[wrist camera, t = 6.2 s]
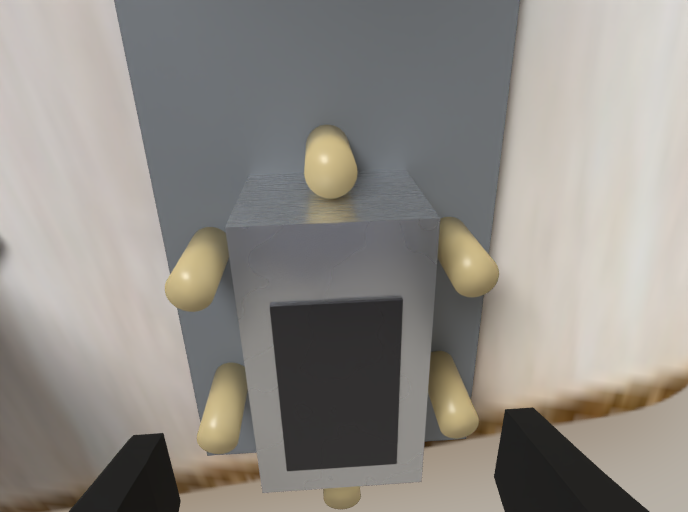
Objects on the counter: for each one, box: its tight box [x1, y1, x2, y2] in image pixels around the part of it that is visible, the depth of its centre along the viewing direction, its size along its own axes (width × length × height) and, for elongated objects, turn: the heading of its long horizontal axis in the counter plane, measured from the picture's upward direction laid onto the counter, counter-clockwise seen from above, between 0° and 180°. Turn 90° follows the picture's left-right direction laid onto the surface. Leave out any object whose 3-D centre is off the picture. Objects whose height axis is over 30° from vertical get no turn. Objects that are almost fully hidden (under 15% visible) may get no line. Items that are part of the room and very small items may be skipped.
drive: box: [225, 169, 440, 493], centre depth 13 cm, size 8×4×4 cm, turn 1°
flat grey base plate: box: [114, 0, 520, 509], centre depth 13 cm, size 21×10×4 cm, turn 1°
